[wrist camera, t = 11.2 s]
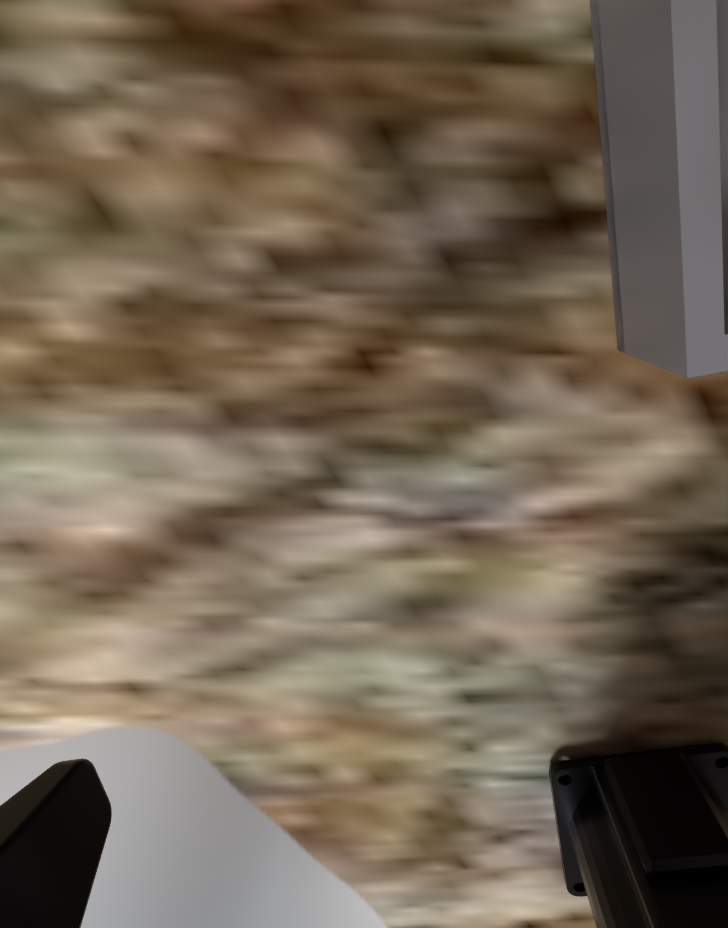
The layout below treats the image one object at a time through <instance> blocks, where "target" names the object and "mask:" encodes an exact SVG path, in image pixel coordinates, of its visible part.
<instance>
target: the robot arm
mask: <svg viewBox="0 0 728 928" xmlns="http://www.w3.org/2000/svg"><path fill="white" fill-rule="evenodd" d="M720 757H722V758H720ZM718 758H720V759H718ZM562 775H567V776H564V777H560V776H562ZM549 777H550V784H551V791H552V797H553V804H554V811H555V818H556V825H557V831H558V838H559V845H560V852H561V859H562V865H563V872H564V879H565V883H566V886H567V890H568V892H569V893H570V894H572V895H574V896H588V899H589V903H590V906H591V909H592V913H593V916H594V920H595V923H596V926H597V928H728V746H727V745H725V744H723V743H712V744H703V745H695V746H686V747H677V748H669V749H660V750H652V751H643V752H634V753H626V754H617V755H609V756H600V757H591V758H583V759H574V760H566V761H559V762H556V763H554V764H553V765H552V766H551V767H550V769H549ZM110 823H111V804H110V801H109V799H108V796H107V794H106V792H105V790H104V787H103V785H102V783H101V781H100V778H99V776H98V774H97V772H96V769H95V767H94V766H93V764H92V763H91V762H90V761H89V760H87V759H76V760H68V761H62V762H58V763H56V764H54V765H53V766H51V767H50V768H49V769H47V770H46V771H45V772H44V773H42V774H41V775H40V776H38V777H37V778H36V779H34V780H33V781H32V782H30V783H29V784H28V785H27V786H25V787H24V788H23V789H21V790H20V791H19V792H18V793H16V794H15V795H14V796H12V797H11V798H10V799H9V800H8V801H6V802H5V803H3V804H2V805H1V806H0V928H80V927H81V923H82V920H83V917H84V913H85V910H86V906H87V902H88V899H89V896H90V893H91V889H92V885H93V882H94V879H95V875H96V872H97V868H98V865H99V862H100V858H101V854H102V851H103V848H104V844H105V841H106V837H107V834H108V830H109V827H110Z"/></svg>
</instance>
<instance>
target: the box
mask: <svg viewBox="0 0 728 928" xmlns="http://www.w3.org/2000/svg"><path fill="white" fill-rule="evenodd" d="M590 9H591V21H592V34H593V46H594V59H595V71H596V84H597V96H598V109H599V121H600V134H601V146H602V159H603V171H604V184H605V196H606V209H607V221H608V234H609V246H610V259H611V271H612V284H613V296H614V309H615V321H616V334H617V346H618V350H619V351H622V352H624V353H627V354H629V355H632V356H634V357H637V358H639V359H642V360H644V361H646V362H649V363H651V364H654V365H656V366H659V367H661V368H664V369H666V370H669V371H671V372H674V373H676V374H679V375H681V376H683V377H686V378H691V377H696V376H702V375H707V374H712V373H718V372H723V371H728V0H590Z"/></svg>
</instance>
